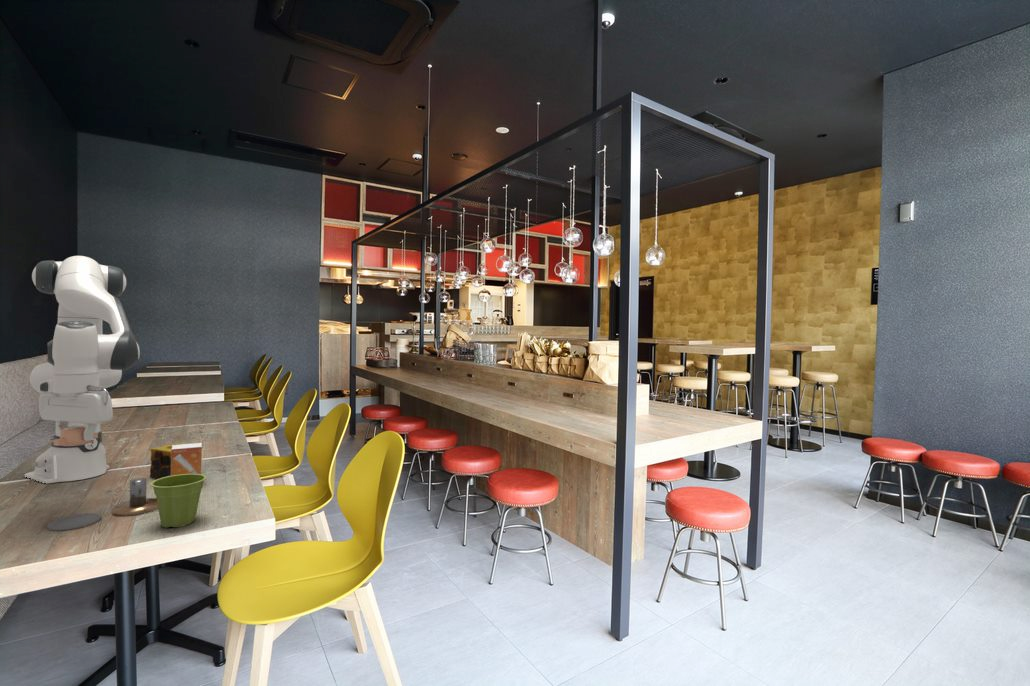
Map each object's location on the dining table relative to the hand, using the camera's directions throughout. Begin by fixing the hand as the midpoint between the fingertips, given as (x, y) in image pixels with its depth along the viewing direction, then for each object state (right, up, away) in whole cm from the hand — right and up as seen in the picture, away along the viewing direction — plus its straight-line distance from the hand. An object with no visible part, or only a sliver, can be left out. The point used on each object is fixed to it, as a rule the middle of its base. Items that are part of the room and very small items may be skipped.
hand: (76, 439), depth 121 cm
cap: (0, -1, 0) cm, 1 cm away
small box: (+7, -21, +30) cm, 38 cm away
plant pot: (+25, -22, +2) cm, 33 cm away
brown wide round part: (+7, -22, +11) cm, 25 cm away
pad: (-1, -22, 0) cm, 22 cm away
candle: (-4, -21, +40) cm, 46 cm away
